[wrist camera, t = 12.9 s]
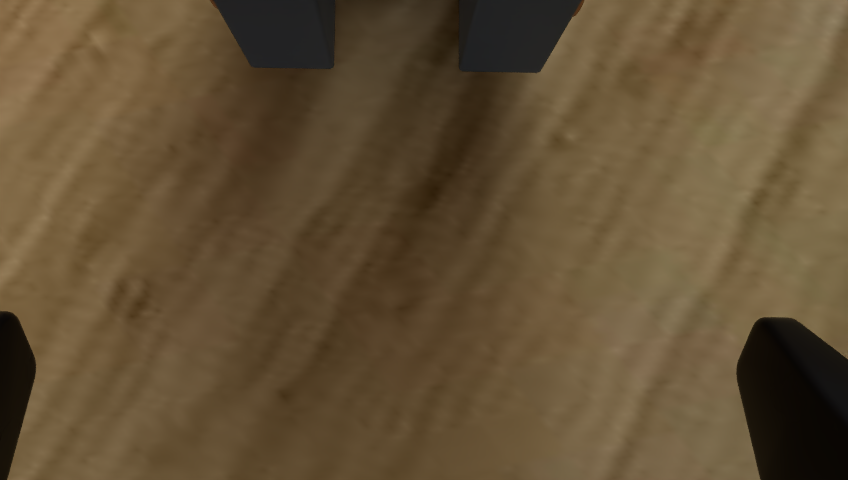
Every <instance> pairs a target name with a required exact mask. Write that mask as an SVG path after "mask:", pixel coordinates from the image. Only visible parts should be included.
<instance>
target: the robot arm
mask: <svg viewBox="0 0 848 480" xmlns="http://www.w3.org/2000/svg"><path fill="white" fill-rule="evenodd" d="M35 374H36V362H35V357H34V354H33V352H32V350H31V347H30V345H29V343H28V340H27V338H26V336H25V333H24V331H23V328H22V326H21V324H20V321H19V320H18V318H17V316H15V315H14V314H13V313H11V312H8V311H0V480H7V478H8V475H9V471H10V468H11V464H12V460H13V457H14V453H15V449H16V446H17V442H18V438H19V434H20V431H21V427H22V423H23V420H24V416H25V412H26V409H27V405H28V401H29V398H30V394H31V390H32V386H33V383H34V379H35ZM736 374H737V382H738V386H739V391H740V395H741V399H742V403H743V408H744V412H745V416H746V420H747V425H748V429H749V433H750V437H751V442H752V446H753V450H754V454H755V459H756V463H757V467H758V471H759V475H760V479H761V480H848V359H847V358H845V357H844V356H843V355H841V354H840V353H839V352H838V351H836V350H835V349H834V348H832V347H831V346H830V345H828V344H827V343H826V342H824V341H823V340H822V339H821V338H819V337H818V336H817V335H815V334H814V333H813V332H811V331H810V330H809V329H807V328H806V327H805V326H804V325H802V324H801V323H800V322H798V321H796V320H795V319H792V318H776V317H764V318H760V319H758V320H757V321H756V322H755V324H754V325H753V327H752V330H751V332H750V334H749V337H748V339H747V341H746V344H745V346H744V348H743V351H742V353H741V355H740V358H739V360H738V363H737V372H736Z"/></svg>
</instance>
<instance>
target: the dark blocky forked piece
mask: <svg viewBox="0 0 848 480" xmlns="http://www.w3.org/2000/svg"><path fill="white" fill-rule="evenodd" d="M210 1H211V3H212V4H213V6H214V7H216V8H217V9H219V11H220V13H221V15H222V16H223V18H224V20H225V22H226V23H227V25H228V27H229V29H230V30H231V32H232V34H233V36H234V37H235V39H236V41H237V43H238V44H239V46H240V48H241V50H242V51H243V53H244V55H245V57H246V58H247V60H248V62H249V64H250V65H251V66H252V67H258V68H311V69H331V68H333V66H334V42H335V0H210ZM583 2H584V0H459V69H460V70H461V71H472V72H525V73H538V72H540V71H541V69H542V68H543V66H544V64H545V63H546V61H547V59H548V57H549V56H550V54H551V52H552V51H553V49H554V47H555V45H556V44H557V42H558V40H559V39H560V37H561V35H562V33H563V32H564V30H565V28H566V27H567V25H568V23H569V21H570V20H571V18H572V17H573V16H575V15H576V14H577V13H578V12H579V10H580V9H581V7H582V5H583Z"/></svg>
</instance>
